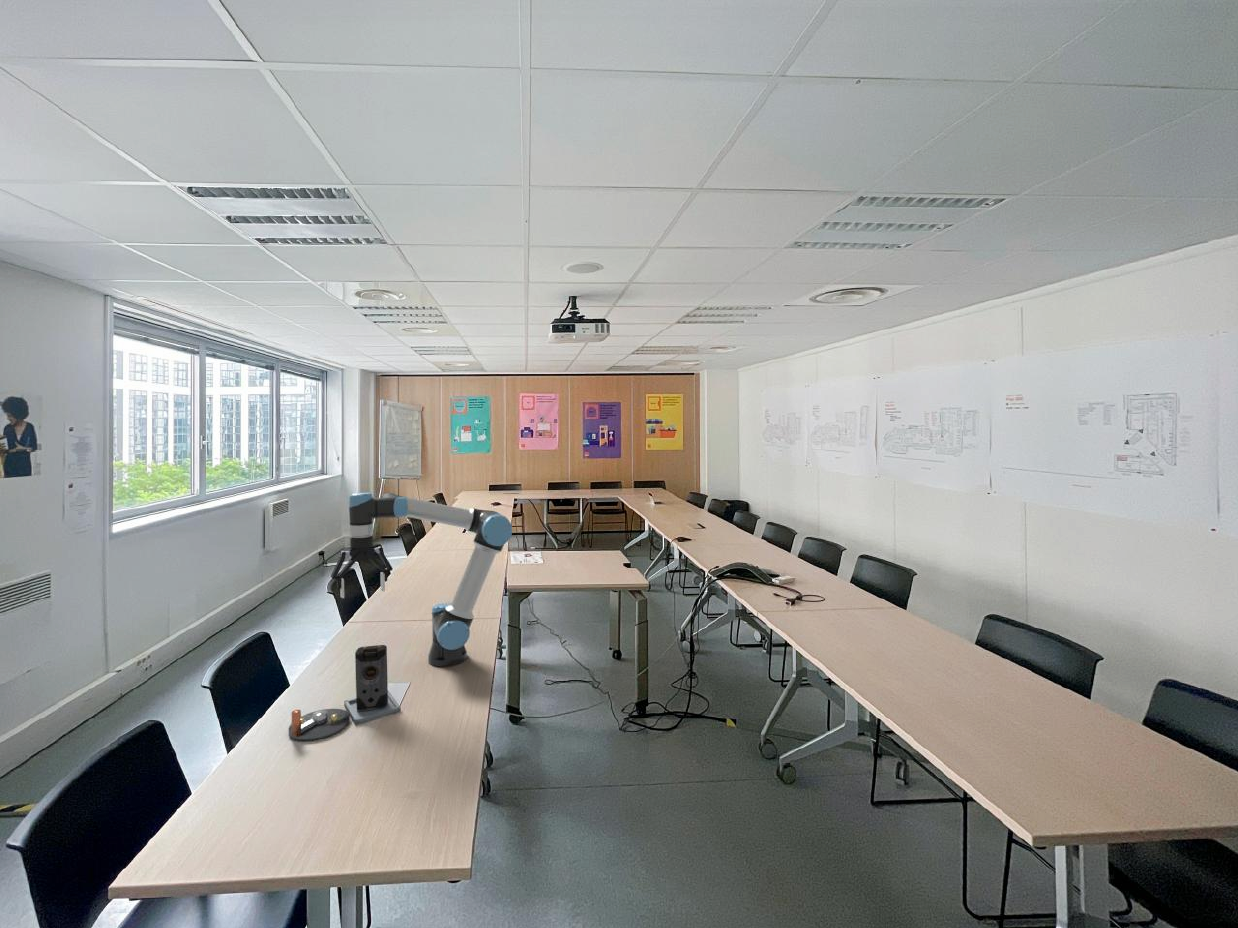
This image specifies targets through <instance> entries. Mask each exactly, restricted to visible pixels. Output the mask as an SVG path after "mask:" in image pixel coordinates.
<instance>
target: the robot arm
mask: <svg viewBox="0 0 1238 928" xmlns="http://www.w3.org/2000/svg"><path fill="white" fill-rule="evenodd" d="M348 501H349V503H348V504H349V506H348V509H349V511H348V512H349V514H348V515H349V536H350V537H349V538H350V539H349V542H350V544H349V546H350V547H349V551H346V550H341V551H340V556H339V558H338V560H337V562H336V564H335V566H334V568H333V570H332V572H331V574H330V578H331V579H332V580H336V587H337V589H338V590H340V592H339V593H340V598H342V599H345V580H344V577H345V575H346V574H347V573H348V571H350V569H351V568H352V567H353V565H355V563H356V562H357V563H361V562H368V561H371V562H372V563H373V564H374V565H375V566H376V567H377V568H378V569H380V571H381V572H379V573H380V591H381V592H386V582H388V573H389V572H391V571H393V567H392V565H391V564H390V562H389V560H388V558H387V556H386V555H385V554H384V548H383V547H382V546H378V547H375V548H374V536H373V534H374V525H373V524H374V523H373V522H374V521H373V520H374V519H375V520H376V519H389V518H390V519H392V518H393V519H394V518H397V519H398V518H405V517H407V518H413V519H417V520H422V521H427V522H432V523H437V524H441V525H446V526H453V527H457V528H461V529H465V531H466V532H469V533H470V532H471V533H475V536H474V539H473V540H472V542H473V544H474V549H473V552H472V554H471V556H470V558H469V560H468V562H467V565H466V568H465V570H464V573H463V575H462V577H461V579H460V582H459V584H458V587H457V588H456V589H457V590H456V591H455V594H454V596H453V599H452V601H451V602H442V603H438V604H435V605H433V607H432V608H431V616H432V617H431V621H432V626H431V627H432V633H431V634H432V643H431V646H430V649H429V653H428V655H427V656H428V659H427V661H428V663H429V664H430V665H431V666H434V667H450V666H455V665H459V664H461V663H462V662H464V661H465V660H466V659H467V657H468V654H467V653H468V652H467V648H466V646H465V645H466V644H467V642H468V640H469V639H470V635H471V634H470V633H471V630H470V628H471V625H472V623H473V621H474V617H475V616H474V614H473V611H474V608H475V605H476V604H477V601H478V598H479V596H480V593H481V591H482V588H483V586H484V584H485V581H486V579H487V576H488V574H489V571H490V569H491V567H492V564H493V562H494V559H495V557H496V555H497V554H499V553H501V552H502V551H503V548H504V545H506V543H508V542H509V541H510V539H511V538H512V536H513V535H512V534H513V526H512V523H511V522H510V520H509V518H508V517H506V515H503V514H502V513H499V512H497V511H495V510H487V509H478V508H474V507H473V508H470V509H467V508H466V509H465V508H462V507H461V508H460V507H457V506H456V507H455V506H452V505H451V506H450V505H448V504H447V505H446V504H441V503H436V502H431V501H428V500H424V499H423V500H422V499H417V498H412V497H409V496H402V495H397V494H396V493H392V492H391V493H390V492H388V493H385V494H383V495H382V496H381V497H373V494H372V493H371V492H355V493H352V494H350V495H349V500H348ZM375 552H376V554H378V555H379V557H380V558H381V560H382V562H383V564H384V566H385V567H386V568H385V567H384V566H383V565H382V564H381V563H380V562H379V561H378V560H377V559H376V558H375V557H374V556H373V555H374V554H375ZM348 556H350V558H349V560H348V562H347V563H346V564H345V565H344V567H343V564H344V562H345V560H346V558H347V557H348ZM342 567H343V568H342ZM341 568H342V569H341ZM340 570H341V571H340Z"/></svg>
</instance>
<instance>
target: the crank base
mask: <svg viewBox="0 0 1238 928" xmlns="http://www.w3.org/2000/svg"><path fill="white" fill-rule="evenodd" d="M321 710H322V709H319V710H315V711H312V712H310V713H306V714H304V715H301V724H303V723H305V722H307V721H309V720H311V719H312V714H313V713H315V712H317V711H321ZM323 710H325V711H327V712H328V720H327V722H325V723H323V724H320V725H313V726H312V727H310V728H308V729H306V730H305V731H303V732H301V734H300V735H299V736H292V723H291V724H290V725H289V727H288V736H289V738H290V739H291V740H292V741H295V742H299V743H300V742H301V743H310V742H317V741H321V740H325V739H329V738H331V737H333V736H335V735H338V734H339V733H341V732H342V731H344V730H345V729H346V728H348V726H349V725H350V723H351V717H350V714H349V713H348V711H347V710H346V709H342V708H327V709H326V708H324V709H323Z"/></svg>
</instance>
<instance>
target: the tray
mask: <svg viewBox="0 0 1238 928" xmlns="http://www.w3.org/2000/svg"><path fill="white" fill-rule="evenodd" d="M343 702H344V703H343V704H344V707H345V710H346V711H347V712H348V713H349V714H350V719H351V720H352V722H353V724H354V725H355V726H357V725H361V724H365V723H367V722H371V721H374V720H375V721H376V720H377V719H382V718H384V717H387V716H391V715H394V714H397V713H401V712H402V707H401V705H400V704H399V703H398V702H397V700H396V699H395V697H394V696H393V695H392V693H391V692H390V691H389V690H388V703H387V706H386V707H385V708H384V709H379V710H370V711H362V712H359V711H357V703H356V697H354V698H350V699H346V700H344V701H343Z"/></svg>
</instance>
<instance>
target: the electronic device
mask: <svg viewBox="0 0 1238 928" xmlns="http://www.w3.org/2000/svg"><path fill="white" fill-rule="evenodd" d="M354 656H355V657H354V658H355V663H354V664H355V695H356V696H355V698H356V703H357V711H359V712H362V711H370V710H379V709H384V708H385V707H386V706H387V703H388V691H389V689H388V686H389V685H388V648H387V645H385V644H380V645H379V644H377V645H367V646H359V647H358V648H357V649H356V650H355V654H354Z"/></svg>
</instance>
